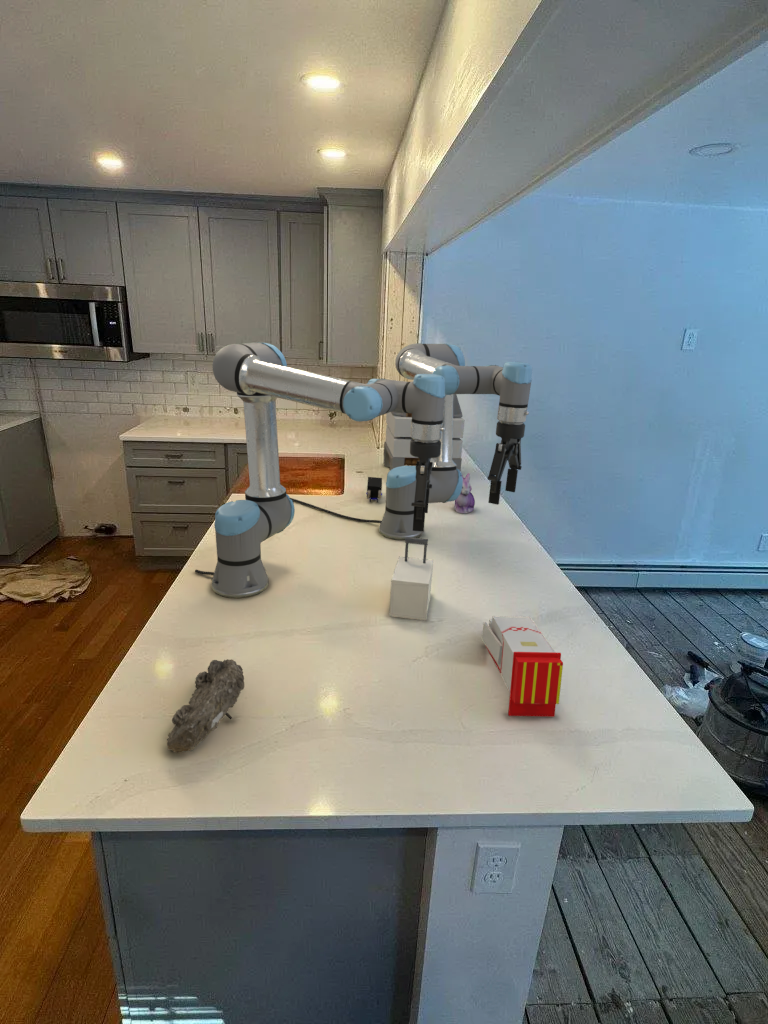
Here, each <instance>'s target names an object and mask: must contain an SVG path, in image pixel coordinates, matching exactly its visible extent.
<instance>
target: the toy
mask: <svg viewBox="0 0 768 1024" xmlns="http://www.w3.org/2000/svg"><path fill="white" fill-rule="evenodd" d="M481 632H482V633H481V640H482V642H483V644H484V646H485V648H486V650H487V652H488V654H489V655H490V657H491V659H492V661H493V663H494V664H495V666H496V668H497V670H498V671H499V674H500V676H501V678H502V680H503V682H504V684H505V687H506V688H507V690H508V692H509V700H508V702H509V703H508V710H507V711H508V712H507V715H508V717H551V718H552V717H553V718H555V716H556V707H557V705H559V704H560V698H561V697H560V695H561V688H562V687H561V686H562V678H563V669H564V662H563V661H562V653H561V652H556V651H555V649H554V648H553V647H552V645H551V644H550V643H549V641H548V639H547V638H546V637H545V635H544V634H543V633H542V631H541V630H540V629H539V628H538V626H537V624H536V622H535V621H534V620H533V619H532V617H531V616H514V615H513V616H512V615H511V616H508V615H507V616H506V615H505V616H504V615H492V618H489V620H488V623H487V621H483V623H482V631H481Z"/></svg>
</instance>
